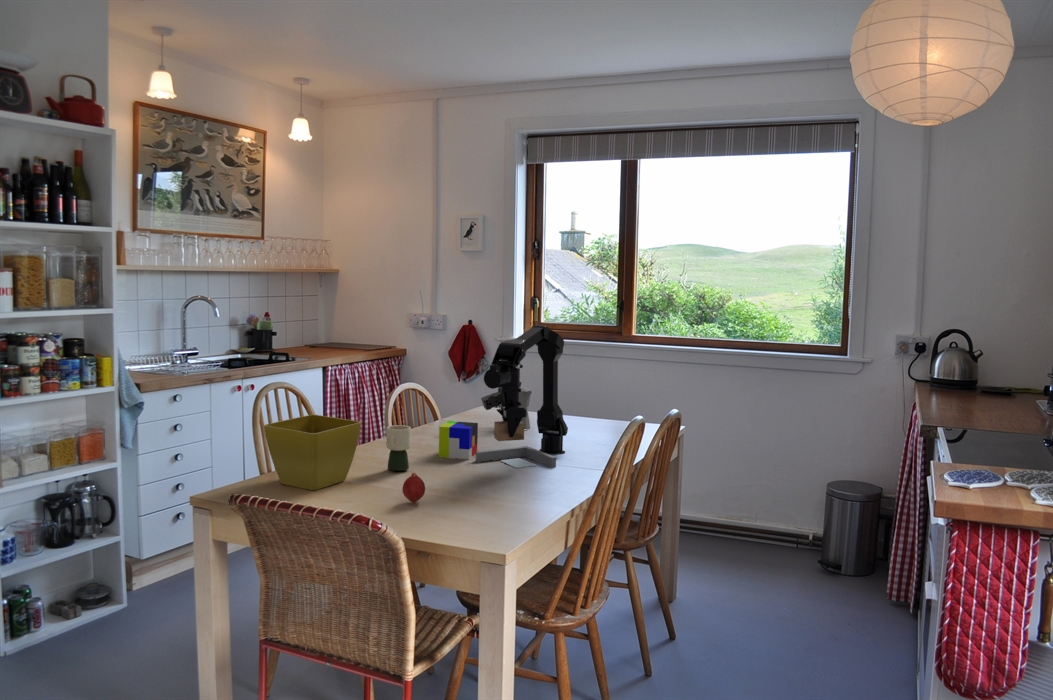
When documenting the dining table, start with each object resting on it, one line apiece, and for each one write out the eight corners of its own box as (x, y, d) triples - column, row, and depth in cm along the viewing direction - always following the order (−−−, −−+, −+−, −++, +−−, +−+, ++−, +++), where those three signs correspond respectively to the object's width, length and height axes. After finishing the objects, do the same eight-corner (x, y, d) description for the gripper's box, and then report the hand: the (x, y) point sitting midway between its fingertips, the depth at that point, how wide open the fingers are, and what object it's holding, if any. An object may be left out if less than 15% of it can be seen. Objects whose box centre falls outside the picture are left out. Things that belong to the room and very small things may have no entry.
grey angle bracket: (526, 455, 256) (527, 446, 256) (555, 466, 242) (556, 457, 241) (475, 461, 246) (475, 451, 246) (502, 473, 232) (502, 463, 231)
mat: (519, 458, 250) (519, 458, 250) (536, 465, 242) (536, 465, 242) (500, 461, 247) (500, 460, 247) (516, 468, 238) (516, 467, 238)
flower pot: (313, 496, 204) (313, 433, 202) (262, 484, 213) (261, 424, 211) (362, 480, 220) (363, 421, 219) (312, 470, 230) (312, 414, 228)
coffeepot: (538, 429, 298) (540, 382, 296) (521, 432, 291) (522, 384, 290) (511, 423, 309) (512, 378, 307) (493, 426, 302) (494, 379, 301)
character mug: (393, 465, 238) (394, 423, 237) (416, 466, 237) (416, 424, 235) (379, 474, 228) (379, 430, 226) (402, 475, 226) (403, 431, 225)
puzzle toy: (468, 459, 248) (469, 428, 247) (438, 457, 250) (439, 426, 249) (477, 452, 258) (477, 422, 257) (448, 450, 260) (448, 421, 259)
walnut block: (519, 436, 239) (519, 420, 238) (524, 439, 235) (524, 423, 234) (494, 437, 236) (494, 421, 236) (498, 441, 232) (498, 424, 232)
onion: (403, 499, 203) (403, 469, 202) (425, 499, 204) (425, 469, 203) (401, 506, 197) (401, 475, 196) (424, 506, 198) (424, 475, 197)
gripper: (477, 380, 241) (477, 429, 243) (489, 390, 223) (489, 443, 225) (512, 379, 244) (512, 428, 245) (527, 389, 226) (526, 442, 227)
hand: (509, 435), depth 236 cm, fingers closed on walnut block, 5 cm apart
